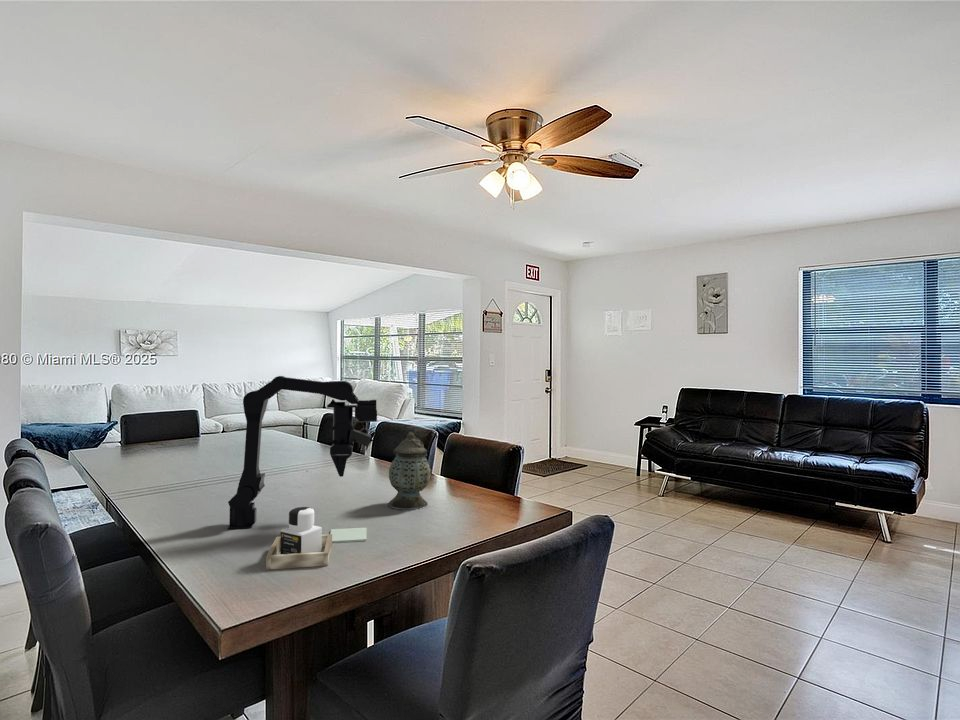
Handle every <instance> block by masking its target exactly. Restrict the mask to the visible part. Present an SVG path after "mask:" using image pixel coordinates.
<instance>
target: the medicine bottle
mask: <svg viewBox="0 0 960 720" xmlns="http://www.w3.org/2000/svg"><path fill="white" fill-rule="evenodd" d="M322 535H323V527H321V526H318V525H315V510H314V508H311V507H309V506H299V507H295V508H293V509H291V510H290V511H289V512H288V527H286V528H282V529H281V530H280V537H281V547H280V550H279V554H294V553H313V552H322V548H323V547H322Z"/></svg>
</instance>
